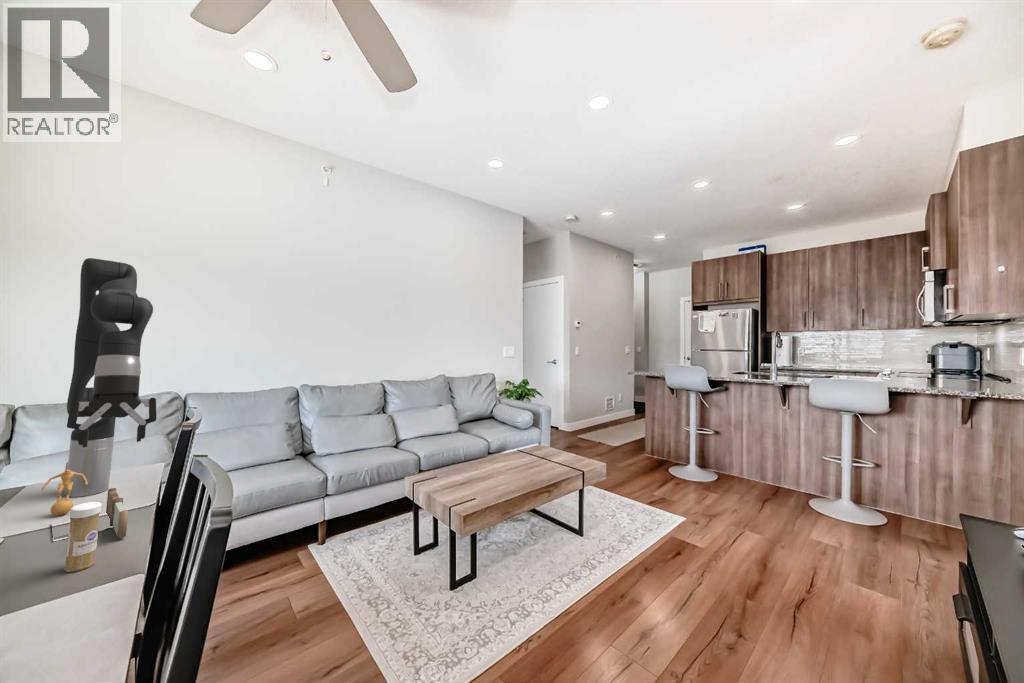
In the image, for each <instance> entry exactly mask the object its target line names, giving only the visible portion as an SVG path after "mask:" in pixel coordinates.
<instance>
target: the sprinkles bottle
mask: <svg viewBox="0 0 1024 683" xmlns="http://www.w3.org/2000/svg"><path fill="white" fill-rule="evenodd" d="M101 511H102V503H101V502H98V501H89V502H83V503H80V504H76V505H73V507H72V508H71V510H70V511H69V520H70V527H69V532H68V539H66V540H67V541H66V542H67V543H66V550H65V558H66V559H65V566H64V567H63V571H65V572H67V573H71V572H72V573H74V572H78V571H82V570H85V569H87V568H90V567H92V566H93V565H94V564H95V562H96V550H97V544H98V537H99V536H98V533H99V532H98V523H99V514H100V513H102V512H101Z"/></svg>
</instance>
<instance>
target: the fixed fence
mask: <svg viewBox="0 0 1024 683" xmlns="http://www.w3.org/2000/svg"><path fill="white" fill-rule="evenodd" d="M118 502H122V503H123V504H124V498H123V497H120V496H119V495H118V492H117V487H111V488H108V489H107V500H106V509H105V512H106V513H107V514H108V516H109V518H110V526H113V520H114V510H115V503H118Z"/></svg>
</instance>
